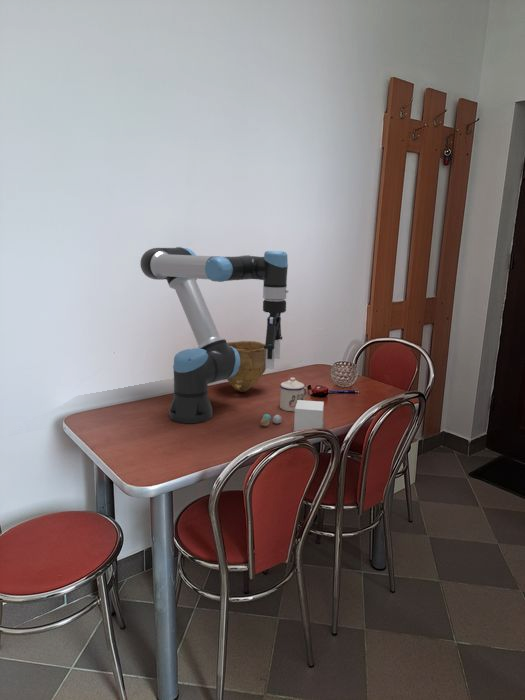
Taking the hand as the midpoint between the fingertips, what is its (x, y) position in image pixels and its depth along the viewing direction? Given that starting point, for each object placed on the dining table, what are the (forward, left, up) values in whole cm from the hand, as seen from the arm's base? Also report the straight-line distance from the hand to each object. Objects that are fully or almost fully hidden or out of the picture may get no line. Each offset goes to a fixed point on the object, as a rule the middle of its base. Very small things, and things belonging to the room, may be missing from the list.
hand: (272, 363), depth 168 cm
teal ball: (-2, +2, -22) cm, 22 cm away
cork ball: (-2, -2, -22) cm, 22 cm away
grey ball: (+2, +2, -22) cm, 22 cm away
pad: (+13, -1, -22) cm, 25 cm away
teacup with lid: (+6, +20, -22) cm, 30 cm away
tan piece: (-17, +34, -22) cm, 44 cm away
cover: (+13, -1, -21) cm, 25 cm away
